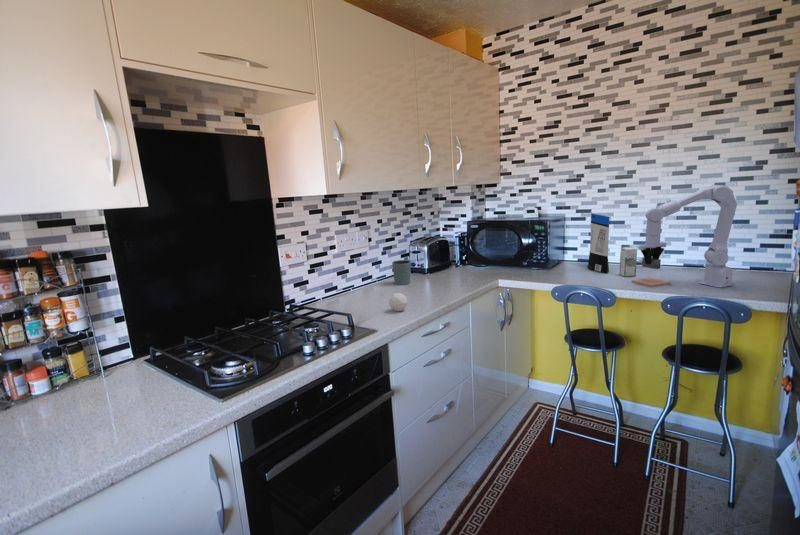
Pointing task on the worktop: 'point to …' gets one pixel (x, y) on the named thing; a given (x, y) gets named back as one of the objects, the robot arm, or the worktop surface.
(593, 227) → the protein powder
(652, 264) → the charger plug
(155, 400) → the worktop surface
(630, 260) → the syrup box
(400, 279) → the green cup
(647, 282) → the terracotta trivet
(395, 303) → the ball
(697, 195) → the robot arm
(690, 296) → the worktop surface
